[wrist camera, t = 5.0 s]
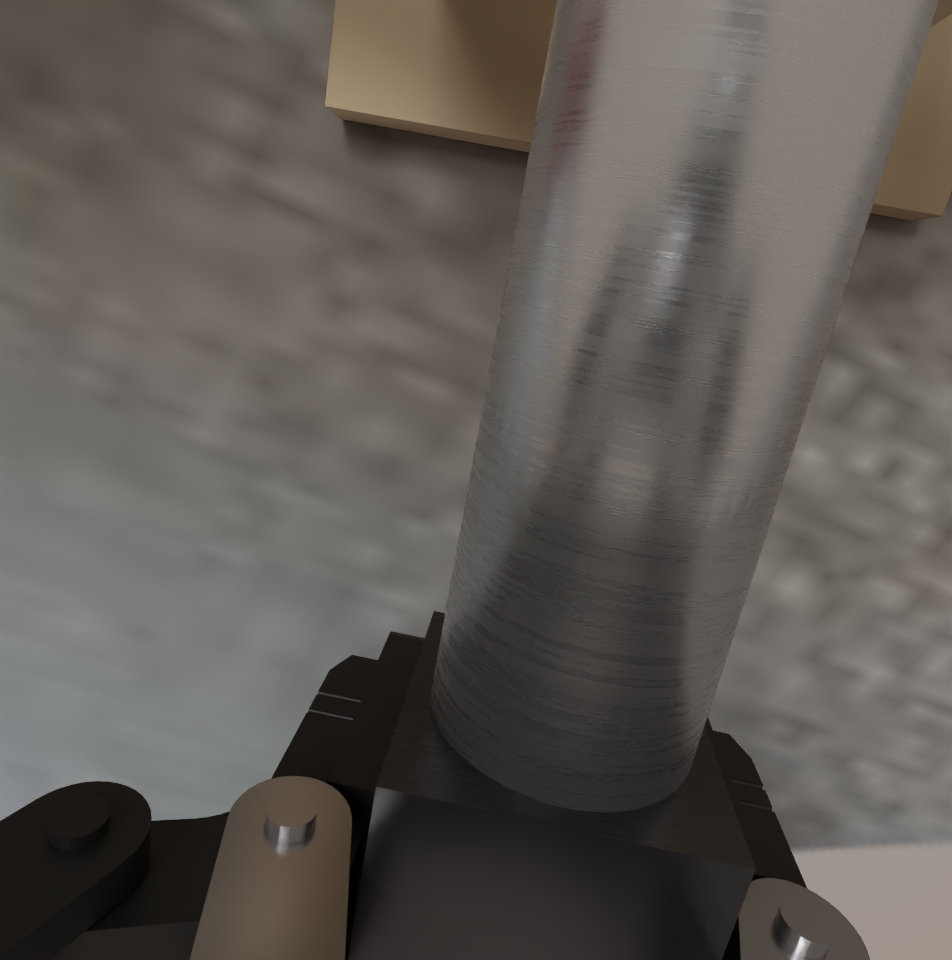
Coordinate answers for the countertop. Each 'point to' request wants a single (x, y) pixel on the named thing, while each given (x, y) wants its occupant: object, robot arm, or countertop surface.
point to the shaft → (630, 477)
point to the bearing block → (519, 74)
